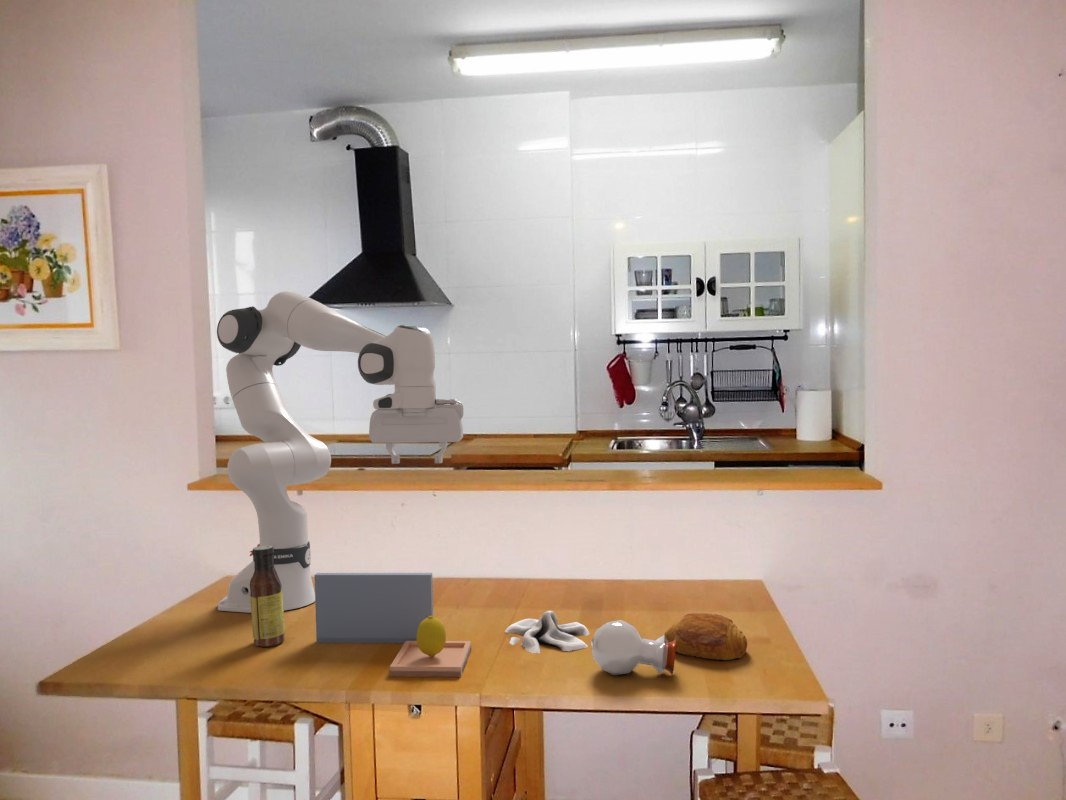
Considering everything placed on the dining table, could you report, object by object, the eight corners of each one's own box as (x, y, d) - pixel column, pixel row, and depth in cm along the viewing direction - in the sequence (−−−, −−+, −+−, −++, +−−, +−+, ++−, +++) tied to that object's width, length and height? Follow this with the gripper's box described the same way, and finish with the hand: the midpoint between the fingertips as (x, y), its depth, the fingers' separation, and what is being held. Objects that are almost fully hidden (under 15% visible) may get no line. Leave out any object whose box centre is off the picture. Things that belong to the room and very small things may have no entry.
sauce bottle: (291, 639, 159) (288, 544, 158) (272, 649, 153) (268, 551, 152) (265, 636, 161) (262, 542, 160) (245, 646, 155) (241, 549, 154)
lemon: (441, 664, 141) (440, 621, 141) (412, 662, 142) (411, 620, 142) (450, 653, 147) (449, 612, 146) (423, 651, 148) (422, 610, 147)
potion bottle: (588, 675, 141) (670, 689, 138) (586, 661, 133) (673, 676, 130) (595, 625, 146) (674, 638, 143) (594, 609, 137) (678, 622, 135)
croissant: (734, 680, 139) (739, 639, 138) (654, 653, 147) (659, 614, 146) (756, 652, 152) (761, 614, 150) (681, 629, 159) (686, 592, 158)
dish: (390, 676, 138) (389, 666, 138) (406, 649, 151) (406, 640, 151) (461, 676, 138) (460, 667, 138) (471, 650, 151) (471, 641, 151)
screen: (316, 642, 156) (314, 575, 156) (324, 634, 161) (322, 568, 161) (432, 643, 155) (430, 574, 154) (437, 634, 160) (435, 568, 159)
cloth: (507, 623, 168) (506, 595, 168) (592, 624, 166) (591, 596, 166) (492, 662, 146) (491, 630, 146) (589, 664, 144) (589, 632, 144)
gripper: (465, 398, 168) (466, 460, 169) (373, 399, 170) (375, 461, 170) (460, 399, 162) (462, 464, 163) (365, 401, 163) (367, 465, 164)
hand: (417, 463), depth 166 cm, fingers open, 8 cm apart
